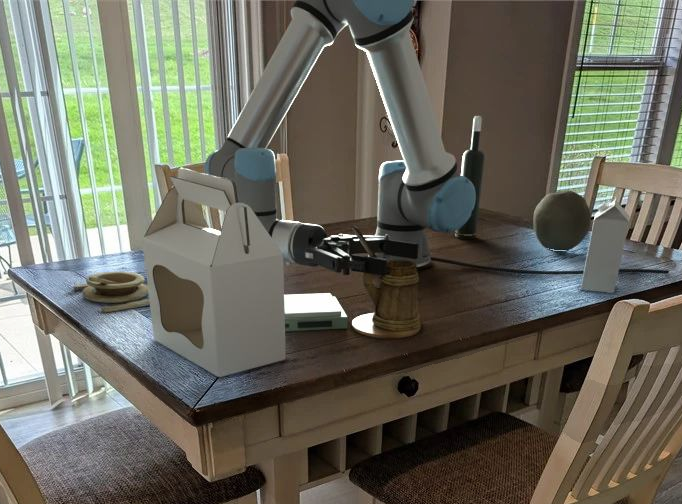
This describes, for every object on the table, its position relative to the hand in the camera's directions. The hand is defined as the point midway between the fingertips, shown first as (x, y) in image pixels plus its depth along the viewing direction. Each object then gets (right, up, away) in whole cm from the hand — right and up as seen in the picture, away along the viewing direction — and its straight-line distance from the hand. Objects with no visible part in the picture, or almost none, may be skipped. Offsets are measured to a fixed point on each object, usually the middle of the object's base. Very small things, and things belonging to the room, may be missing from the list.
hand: (402, 259), depth 130 cm
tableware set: (-51, +1, +25) cm, 57 cm away
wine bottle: (+24, +30, +74) cm, 83 cm away
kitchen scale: (-18, -8, +11) cm, 22 cm away
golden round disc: (-2, -10, +8) cm, 13 cm away
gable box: (-32, -17, -4) cm, 37 cm away
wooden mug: (-3, -10, +7) cm, 13 cm away
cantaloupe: (+45, +21, +60) cm, 78 cm away
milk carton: (+46, +4, +33) cm, 57 cm away
